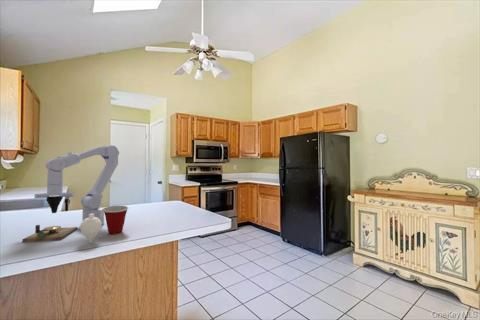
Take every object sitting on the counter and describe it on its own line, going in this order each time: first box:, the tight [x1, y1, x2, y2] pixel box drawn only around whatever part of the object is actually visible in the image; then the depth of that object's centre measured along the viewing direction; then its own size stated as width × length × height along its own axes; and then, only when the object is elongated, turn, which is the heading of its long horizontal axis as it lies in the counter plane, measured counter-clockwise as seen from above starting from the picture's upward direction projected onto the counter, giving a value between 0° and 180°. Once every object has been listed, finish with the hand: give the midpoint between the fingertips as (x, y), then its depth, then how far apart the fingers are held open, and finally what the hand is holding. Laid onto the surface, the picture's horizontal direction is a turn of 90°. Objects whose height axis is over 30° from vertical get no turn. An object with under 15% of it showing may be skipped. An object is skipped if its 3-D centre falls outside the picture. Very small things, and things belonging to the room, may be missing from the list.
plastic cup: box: [102, 205, 129, 235], centre depth 111 cm, size 11×11×12 cm
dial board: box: [21, 226, 79, 243], centre depth 106 cm, size 14×16×3 cm
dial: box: [34, 224, 62, 234], centre depth 104 cm, size 10×6×3 cm, turn 161°
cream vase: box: [79, 214, 103, 243], centre depth 97 cm, size 8×8×12 cm
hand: (54, 212), depth 110 cm, fingers closed
